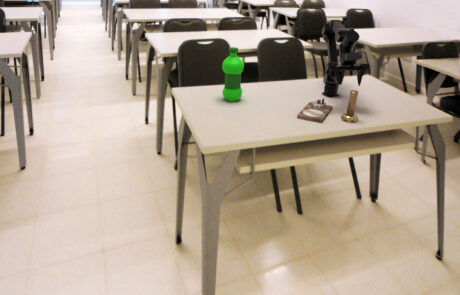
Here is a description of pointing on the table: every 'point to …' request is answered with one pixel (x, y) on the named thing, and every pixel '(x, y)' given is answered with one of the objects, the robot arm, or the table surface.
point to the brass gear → (351, 108)
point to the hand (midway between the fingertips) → (349, 85)
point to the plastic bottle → (232, 75)
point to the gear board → (315, 111)
